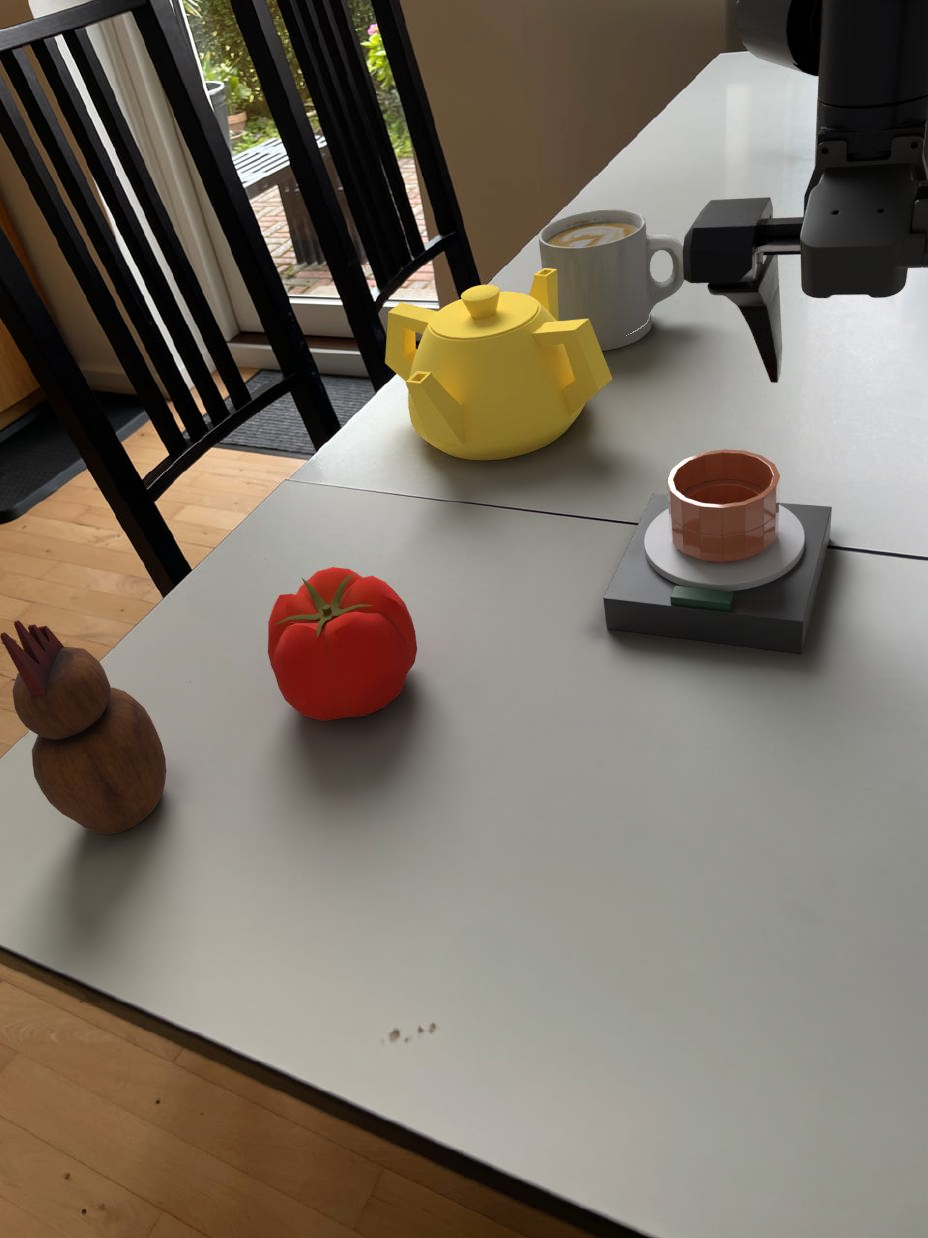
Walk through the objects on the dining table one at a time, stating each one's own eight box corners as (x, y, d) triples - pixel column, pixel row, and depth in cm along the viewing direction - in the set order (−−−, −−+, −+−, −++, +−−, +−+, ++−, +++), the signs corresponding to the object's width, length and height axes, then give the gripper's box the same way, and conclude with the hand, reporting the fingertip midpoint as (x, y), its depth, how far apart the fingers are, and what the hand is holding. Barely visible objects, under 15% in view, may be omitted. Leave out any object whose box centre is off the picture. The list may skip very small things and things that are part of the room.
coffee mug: (542, 354, 97) (529, 252, 90) (559, 311, 104) (548, 214, 98) (683, 346, 93) (679, 239, 87) (691, 302, 100) (687, 200, 94)
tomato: (348, 629, 69) (319, 540, 64) (451, 665, 64) (428, 571, 59) (254, 717, 63) (215, 627, 59) (359, 763, 58) (326, 669, 54)
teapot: (623, 442, 81) (611, 300, 74) (426, 494, 80) (394, 356, 73) (564, 363, 95) (549, 236, 87) (394, 407, 94) (364, 282, 86)
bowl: (785, 512, 65) (787, 452, 62) (767, 573, 60) (768, 511, 58) (684, 504, 68) (681, 446, 65) (659, 562, 63) (655, 503, 60)
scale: (829, 537, 67) (832, 498, 65) (801, 654, 59) (803, 613, 57) (654, 522, 72) (652, 485, 70) (606, 628, 64) (602, 590, 62)
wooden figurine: (136, 860, 56) (15, 661, 46) (55, 843, 58) (-76, 649, 48) (198, 769, 60) (100, 572, 51) (121, 757, 62) (13, 566, 53)
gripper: (649, 155, 47) (665, 444, 57) (1109, 124, 40) (1037, 463, 49) (702, 91, 55) (708, 355, 64) (1097, 54, 47) (1037, 360, 57)
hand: (856, 381), depth 59 cm, fingers open, 9 cm apart
